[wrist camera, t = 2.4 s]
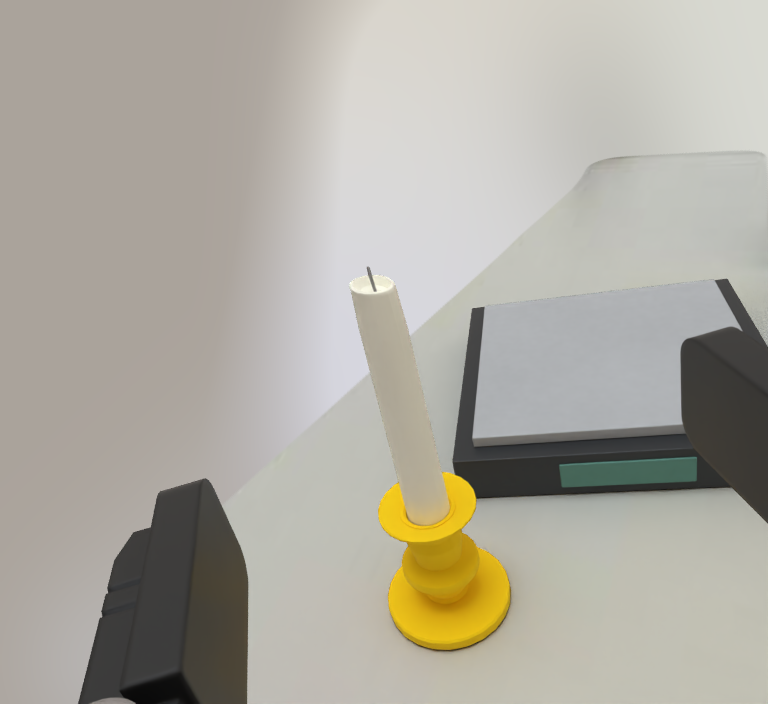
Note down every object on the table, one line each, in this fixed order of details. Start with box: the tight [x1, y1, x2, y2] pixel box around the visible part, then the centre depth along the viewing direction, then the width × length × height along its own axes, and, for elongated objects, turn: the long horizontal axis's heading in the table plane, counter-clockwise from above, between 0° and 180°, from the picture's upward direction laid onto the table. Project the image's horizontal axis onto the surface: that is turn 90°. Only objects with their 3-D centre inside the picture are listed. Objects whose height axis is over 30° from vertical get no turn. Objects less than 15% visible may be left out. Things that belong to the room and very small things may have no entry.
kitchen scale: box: [453, 279, 767, 498], centre depth 38 cm, size 16×16×3 cm
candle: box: [349, 267, 511, 650], centre depth 25 cm, size 5×5×16 cm
